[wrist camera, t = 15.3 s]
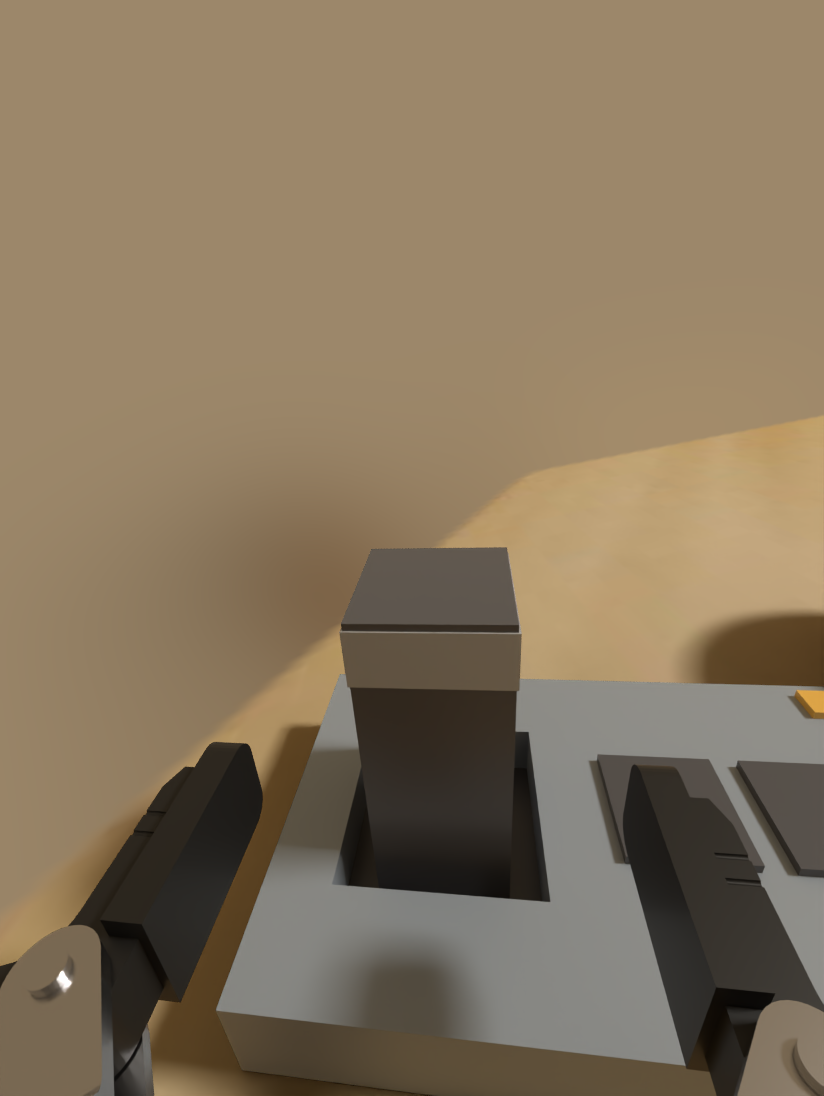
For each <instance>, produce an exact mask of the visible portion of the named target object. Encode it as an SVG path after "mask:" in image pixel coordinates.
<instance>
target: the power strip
mask: <svg viewBox="0 0 824 1096" xmlns="http://www.w3.org/2000/svg"><path fill="white" fill-rule="evenodd" d="M634 764H636V765H656V766H673V767H675V768H676V769H677V770H678V772H679V774H680V776H681V778H682V780H683V782H684V785H685V787H686V789H687V792H688V794H689V796H690V797H693V798H709V799H710V800H711V801H712V803H713V804H714V805H715V806H716V807H717V808H718V809H719V810H720V811H721V812H722V813H723V814H724V815H725V816H726V817H727V819H728V820H729V821H730V822H731V823H732V824H733V825H734V827H735V829H736V831H737V833H738V835H739V837H740V839H741V841H742V843H743V845H744V847H745V849H746V851H747V853H748V858H749V861H752V863H753V866H754V868H755V870H756V872H757V874H758V876H759V878H760V880H761V885H762V887H764V888H765V890H766V892H767V894H768V896H769V898H770V900H771V902H772V904H773V906H774V908H775V910H776V912H777V914H778V916H779V918H780V920H781V922H782V924H783V926H784V928H785V930H786V932H787V934H788V936H789V938H790V940H791V942H792V944H793V946H794V948H795V950H796V952H797V954H798V956H799V958H800V960H801V962H802V964H803V966H804V968H805V970H806V972H807V974H808V976H809V978H810V980H811V982H812V984H813V986H814V988H815V990H816V992H817V994H818V996H819V997H820V999H821V1001H822V1002H823V1004H824V687H816V686H777V685H738V684H699V683H660V682H621V681H582V680H543V679H520V687H519V691H517V703H516V731H515V759H514V787H513V815H512V843H511V871H510V899H505V898H492V897H480V896H468V895H455V894H443V893H430V892H418V891H406V890H393V889H381V888H379V885H378V878H377V871H376V864H375V857H374V850H373V843H372V836H371V829H370V822H369V816H368V809H367V802H366V795H365V788H364V781H363V774H362V767H361V760H360V753H359V746H358V739H357V732H356V725H355V718H354V711H353V704H352V697H351V690H350V687H347V681H346V674H340V676H339V678H338V681H337V684H336V686H335V689H334V692H333V695H332V697H331V700H330V703H329V705H328V708H327V711H326V713H325V716H324V719H323V722H322V724H321V727H320V730H319V732H318V735H317V738H316V740H315V743H314V746H313V749H312V751H311V754H310V757H309V759H308V762H307V765H306V768H305V770H304V773H303V776H302V778H301V781H300V784H299V786H298V789H297V792H296V795H295V797H294V800H293V803H292V805H291V808H290V811H289V813H288V816H287V819H286V822H285V824H284V827H283V830H282V832H281V835H280V838H279V841H278V843H277V846H276V849H275V851H274V854H273V857H272V859H271V862H270V865H269V868H268V870H267V873H266V876H265V878H264V881H263V884H262V886H261V889H260V892H259V895H258V897H257V900H256V903H255V905H254V908H253V911H252V914H251V916H250V919H249V922H248V924H247V927H246V930H245V932H244V935H243V938H242V941H241V943H240V946H239V949H238V951H237V954H236V957H235V959H234V962H233V965H232V968H231V970H230V973H229V976H228V978H227V981H226V984H225V987H224V989H223V992H222V995H221V997H220V1000H219V1003H218V1005H217V1008H216V1012H217V1015H218V1017H219V1019H220V1022H221V1024H222V1026H223V1028H224V1031H225V1033H226V1035H227V1037H228V1040H229V1042H230V1044H231V1047H232V1049H233V1051H234V1053H235V1056H236V1058H237V1060H238V1062H239V1065H240V1067H241V1069H242V1070H244V1071H252V1072H259V1073H267V1074H274V1075H282V1076H290V1077H297V1078H305V1079H312V1080H320V1081H327V1082H335V1083H342V1084H350V1085H357V1086H365V1087H372V1088H380V1089H388V1090H395V1091H403V1092H410V1093H418V1094H425V1095H433V1096H717V1095H716V1092H715V1089H714V1085H713V1082H712V1079H711V1075H710V1072H705V1071H697V1070H689V1069H686V1066H685V1062H684V1058H683V1055H682V1051H681V1047H680V1044H679V1040H678V1036H677V1033H676V1029H675V1026H674V1022H673V1018H672V1015H671V1011H670V1007H669V1004H668V1000H667V996H666V993H665V989H664V986H663V982H662V978H661V975H660V971H659V967H658V964H657V960H656V956H655V953H654V949H653V946H652V942H651V938H650V935H649V931H648V927H647V924H646V920H645V916H644V913H643V909H642V905H641V902H640V898H639V895H638V891H637V887H636V884H635V880H634V876H633V873H632V869H631V865H630V862H629V858H628V855H627V851H626V846H625V841H624V834H623V812H624V806H625V801H626V795H627V789H628V783H629V777H630V771H631V768H632V766H633V765H634Z"/></svg>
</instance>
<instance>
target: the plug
mask: <svg viewBox="0 0 824 1096" xmlns="http://www.w3.org/2000/svg"><path fill="white" fill-rule="evenodd" d="M339 633H340V640H341V646H342V653H343V660H344V667H345V674H346V681H347V687H350V690H351V697H352V704H353V711H354V718H355V725H356V732H357V739H358V746H359V753H360V760H361V767H362V774H363V781H364V788H365V795H366V802H367V809H368V816H369V822H370V829H371V836H372V843H373V850H374V857H375V864H376V871H377V878H378V885H379V888H381V889H393V890H406V891H418V892H430V893H443V894H455V895H468V896H480V897H492V898H505V899H510V871H511V843H512V815H513V787H514V759H515V731H516V703H517V691H519V687H520V661H521V635H522V634H521V628H520V622H519V616H518V609H517V603H516V597H515V591H514V585H513V579H512V573H511V567H510V560H509V554H508V552H507V547H505V548H420V549H419V548H417V549H371V552H370V554H369V557H368V559H367V562H366V564H365V566H364V569H363V571H362V574H361V577H360V579H359V581H358V584H357V586H356V589H355V591H354V593H353V596H352V598H351V601H350V603H349V606H348V608H347V610H346V613H345V615H344V618H343V620H342V623H341V630H340V632H339Z"/></svg>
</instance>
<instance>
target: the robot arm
mask: <svg viewBox="0 0 824 1096" xmlns="http://www.w3.org/2000/svg"><path fill="white" fill-rule="evenodd" d="M262 801H263V795H262V789H261V785H260V781H259V777H258V774H257V770H256V766H255V762H254V759H253V755H252V751H251V748H250V746H249V745H248V744H244V743H224V742H213V743H211V744H210V745H209V746H208V747H207V748H206V750H205V751H204V753H203V755H202V756H201V758H200V759H199V761H198V763H197V764H196V766H195V767H184V768H183V769H182V770H181V771H180V772H179V773H177V774H176V775H175V776H174V777H173V778H172V779H171V780H170V781H168V782H167V783H166V784H165V785H164V786H163V787H162V788H161V790H160V791H159V793H158V794H157V796H156V797H155V799H154V800H153V802H152V804H151V805H150V807H149V808H148V810H147V814H146V815H144V816H143V817H142V819H141V820H140V822H139V823H138V825H137V826H136V828H135V829H134V833H133V835H130V837H129V838H128V840H127V841H126V843H125V844H124V846H123V847H122V849H121V850H120V852H119V853H118V855H117V856H116V858H115V859H114V861H113V862H112V864H111V865H110V867H109V868H108V870H107V871H106V873H105V874H104V876H103V877H102V879H101V880H100V882H99V883H98V885H97V886H96V888H95V889H94V891H93V892H92V894H91V895H90V897H89V898H88V900H87V901H86V903H85V904H84V906H83V908H82V909H81V911H80V912H79V913H78V915H77V916H76V917H75V919H74V920H73V921H72V922H71V924H70V925H69V926H68V927H64V928H61V929H59V930H57V931H54V932H52V933H51V934H49V935H47V936H45V937H44V938H43V939H41V940H40V941H38V942H37V943H36V944H34V945H33V946H32V947H31V948H30V949H29V950H28V951H27V952H26V953H25V954H24V955H23V956H22V957H21V958H20V959H19V960H18V961H16V962H13V963H10V964H6V965H3V966H0V1096H154V1087H153V1074H152V1061H151V1048H150V1036H149V1028H148V1024H147V1023H148V1021H149V1019H150V1017H151V1015H152V1012H153V1010H154V1008H155V1006H156V1004H157V1002H158V1000H165V1001H173V1002H181V1000H182V997H183V995H184V993H185V990H186V988H187V986H188V983H189V981H190V979H191V977H192V974H193V972H194V970H195V967H196V965H197V963H198V960H199V958H200V956H201V953H202V951H203V949H204V946H205V944H206V942H207V939H208V937H209V935H210V932H211V930H212V928H213V925H214V923H215V921H216V918H217V916H218V914H219V912H220V909H221V907H222V905H223V902H224V900H225V898H226V895H227V893H228V891H229V888H230V886H231V884H232V881H233V879H234V877H235V874H236V872H237V870H238V867H239V865H240V863H241V860H242V858H243V856H244V853H245V851H246V849H247V847H248V844H249V842H250V840H251V837H252V835H253V833H254V830H255V828H256V826H257V823H258V821H259V818H260V814H261V809H262ZM623 834H624V841H625V846H626V851H627V855H628V858H629V862H630V865H631V869H632V873H633V876H634V880H635V884H636V887H637V891H638V895H639V898H640V902H641V905H642V909H643V913H644V916H645V920H646V924H647V927H648V931H649V935H650V938H651V942H652V946H653V949H654V953H655V956H656V960H657V964H658V967H659V971H660V975H661V978H662V982H663V986H664V989H665V993H666V996H667V1000H668V1004H669V1007H670V1011H671V1015H672V1018H673V1022H674V1026H675V1029H676V1033H677V1036H678V1040H679V1044H680V1047H681V1051H682V1055H683V1058H684V1062H685V1066H686V1069H689V1070H697V1071H705V1072H710V1075H711V1079H712V1082H713V1085H714V1089H715V1092H716V1095H717V1096H824V1004H823V1002H822V1001H821V999H820V997H819V996H818V994H817V992H816V990H815V988H814V986H813V984H812V982H811V980H810V978H809V976H808V974H807V972H806V970H805V968H804V966H803V964H802V962H801V960H800V958H799V956H798V954H797V952H796V950H795V948H794V946H793V944H792V942H791V940H790V938H789V936H788V934H787V932H786V930H785V928H784V926H783V924H782V922H781V920H780V918H779V916H778V914H777V912H776V910H775V908H774V906H773V904H772V902H771V900H770V898H769V896H768V894H767V892H766V890H765V888H764V887H762V885H761V880H760V878H759V876H758V874H757V872H756V870H755V868H754V866H753V863H752V861H749V858H748V853H747V851H746V849H745V847H744V845H743V843H742V841H741V839H740V837H739V835H738V833H737V831H736V829H735V827H734V825H733V824H732V823H731V822H730V821H729V820H728V819H727V817H726V816H725V815H724V814H723V813H722V812H721V811H720V810H719V809H718V808H717V807H716V806H715V805H714V804H713V803H712V801H711V800H710V799H709V798H693V797H690V796H689V794H688V792H687V789H686V787H685V785H684V782H683V780H682V778H681V776H680V774H679V772H678V770H677V769H676V768H675V767H673V766H656V765H636V764H634V765H633V766H632V768H631V771H630V777H629V783H628V789H627V795H626V801H625V806H624V812H623Z"/></svg>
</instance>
